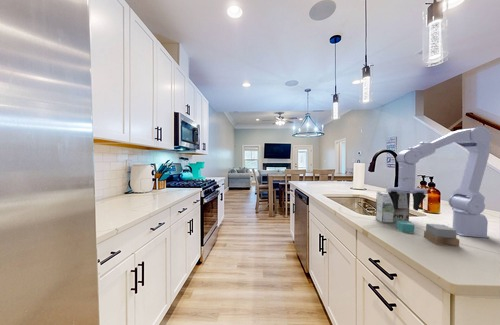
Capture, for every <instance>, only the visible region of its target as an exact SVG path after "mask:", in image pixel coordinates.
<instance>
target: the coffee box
mask: <svg viewBox="0 0 500 325" xmlns="http://www.w3.org/2000/svg"><path fill="white" fill-rule="evenodd" d="M407 192H411V191H407ZM397 193H398V194H399V195H400V196H399V200H398V209H394V223H396V224H397V221H407V222H410V205H411V204H410V203H411V202H410V200H411V193H400V192H397Z"/></svg>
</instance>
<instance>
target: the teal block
mask: <svg viewBox="0 0 500 325" xmlns="http://www.w3.org/2000/svg"><path fill="white" fill-rule="evenodd" d="M396 229H397V230H398V229H399V231H400V232H402V233H412V234H414V233H415V224H414V223H412V222H410V221H409V222H407V221H397V223H396Z"/></svg>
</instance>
